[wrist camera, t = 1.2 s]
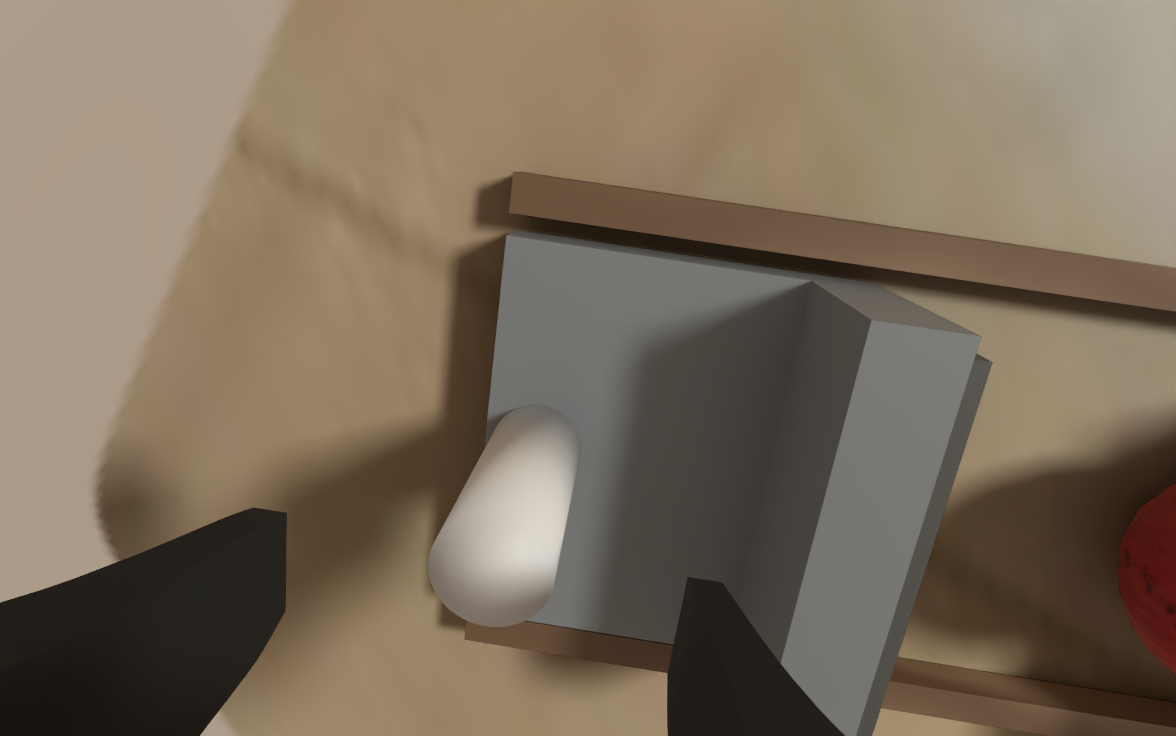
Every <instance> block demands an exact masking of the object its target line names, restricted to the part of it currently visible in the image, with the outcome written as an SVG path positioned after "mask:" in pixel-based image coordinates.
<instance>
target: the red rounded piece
mask: <svg viewBox="0 0 1176 736" xmlns="http://www.w3.org/2000/svg"><path fill="white" fill-rule="evenodd" d="M1118 579H1119V591H1120V595H1121V597H1122V600H1123V603H1124V606H1125V608H1126V611H1127V614H1128V616H1129V619H1130V622H1131V625H1132V627H1133V628H1134V630H1135V631H1136V633H1137V634H1138V636H1139V637H1140V639H1141V640H1142V642H1143V643H1144V645H1145V647H1146V648H1147V650H1148V651H1150V652H1151V653H1152V654H1153V655H1154V656H1155V657H1156V658H1157V659H1159V660H1160V661H1161V662H1162V663H1163V664H1164V665H1165V666H1166V667H1167V668H1169V669H1170V670H1171V671H1172V672H1173V673H1174V674H1175V675H1176V483H1174V484H1173V485H1172V486H1170V487H1169V488H1167V489H1166V490H1165V491H1163V492H1162V493H1160V494H1159V495H1157V496H1156V497H1155V498H1153V499H1152V500H1150V501H1149V502H1147V503H1146V504H1145V505H1143V506H1142V507H1140V508H1139V510H1138V512H1137V513H1136V515H1135V517H1134V518H1133V520H1132V522H1131V523H1130V525H1129V527H1128V528H1127V530H1126V532H1125V533H1124V535H1123V537H1122V538H1121V540H1120V550H1119V565H1118Z"/></svg>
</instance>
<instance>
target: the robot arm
mask: <svg viewBox="0 0 1176 736" xmlns="http://www.w3.org/2000/svg"><path fill="white" fill-rule="evenodd" d="M286 524H287V513H284V512H278V511H271V510H265V509H259V508H251V509H248V510H245V511H242V512H239V513H236V514H233V515H231V516H228V517H226V518H223V519H221V520H218V521H216V522H214V523H211V524H209V525H206V526H204V527H202V528H199V529H197V530H195V531H192V532H190V533H188V534H185V535H183V536H180V537H178V538H176V539H173V540H171V541H169V542H166V543H164V544H161V545H159V546H157V547H154V548H152V549H150V550H147V551H145V552H142V553H140V554H137V555H135V556H132V557H130V558H127V559H124V560H122V561H119V562H117V563H114V564H111V565H109V566H106V567H103V568H101V569H99V570H96V571H93V572H90V573H88V574H85V575H83V576H80V577H77V578H75V579H72V580H69V581H66V582H63V583H61V584H58V585H55V586H52V587H49V588H46V589H43V590H40V591H37V592H33V593H30V594H27V595H24V596H20V597H17V598H14V599H11V600H7V601H4V602H1V603H0V736H200V735H201V733H202V732H203V731H204V729H205V728H206V727H207V725H208V724H209V723H210V722H211V720H212V719H213V718H214V716H215V715H216V714H217V712H218V711H219V710H220V709H221V707H222V706H223V705H224V703H225V702H226V701H227V700H228V698H229V697H230V696H231V694H232V693H233V692H234V690H235V689H236V688H237V686H238V685H239V684H240V682H241V681H242V680H243V678H244V677H245V676H246V674H247V673H248V672H249V670H250V669H251V668H252V666H253V665H254V664H255V662H256V661H257V659H258V657H259V656H260V654H261V652H262V651H263V649H264V647H265V646H266V644H267V642H268V641H269V639H270V637H271V636H272V634H273V632H274V630H275V628H276V627H277V625H278V623H279V621H280V619H281V618H282V616H283V614H284V612H285V604H286ZM667 725H668V736H845V735H844V734H843V733H842V732H841V731H840V730H839V729H838V728H837V727H836V726H835V725H834V724H833V723H832V722H831V721H830V720H829V719H828V718H827V717H826V716H825V715H824V714H823V712H822V711H821V710H820V709H819V708H818V707H817V706H816V705H815V704H814V703H813V701H812V700H811V699H810V698H809V697H808V696H807V694H806V693H805V692H804V691H803V690H802V689H801V688H800V686H799V685H798V684H797V683H796V682H795V681H794V679H793V678H792V677H791V676H790V675H789V673H788V672H787V671H786V670H785V668H784V667H783V666H782V665H781V663H780V662H779V661H778V659H777V658H776V657H775V656H774V654H773V653H772V652H771V650H770V649H769V648H768V646H767V645H766V644H765V642H764V641H763V640H762V638H761V637H760V635H759V634H758V633H757V631H756V630H755V628H754V627H753V626H752V624H751V623H750V621H749V620H748V619H747V617H746V616H745V614H744V613H743V611H742V610H741V608H740V607H739V606H738V604H737V603H736V601H735V600H734V598H733V597H732V595H731V594H730V593H729V591H728V590H727V588H726V587H725V586H724V584H723V583H722V582H717V581H711V580H704V579H698V578H692V577H688V578H687V583H686V587H685V592H684V597H683V602H682V606H681V611H680V616H679V621H678V626H677V630H676V635H675V640H674V645H673V649H672V654H671V659H670V664H669V668H668V686H667Z"/></svg>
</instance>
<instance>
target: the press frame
mask: <svg viewBox="0 0 1176 736" xmlns="http://www.w3.org/2000/svg"><path fill="white" fill-rule="evenodd" d="M509 213H514V214H521V215H527V216H534V217H541V218H548V219H554V220H561V221H568V222H575V223H581V224H588V225H595V226H602V227H608V228H615V229H622V230H629V231H635V232H642V233H649V234H656V235H662V236H669V237H676V238H683V239H689V240H696V241H703V242H710V243H716V244H723V245H730V246H737V247H743V248H750V249H757V250H763V251H770V252H777V253H784V254H790V255H797V256H804V257H811V258H817V259H824V260H831V261H838V262H844V263H851V264H858V265H865V266H871V267H878V268H885V269H892V270H898V271H905V272H912V273H919V274H925V275H932V276H939V277H946V278H952V279H959V280H966V281H973V282H979V283H986V284H993V285H1000V286H1006V287H1013V288H1020V289H1027V290H1033V291H1040V292H1047V293H1054V294H1060V295H1067V296H1074V297H1081V298H1087V299H1094V300H1101V301H1108V302H1114V303H1121V304H1128V305H1135V306H1141V307H1148V308H1155V309H1162V310H1168V311H1175V312H1176V268H1173V267H1166V266H1159V265H1152V264H1145V263H1139V262H1132V261H1125V260H1118V259H1111V258H1105V257H1098V256H1091V255H1084V254H1077V253H1070V252H1064V251H1057V250H1050V249H1043V248H1036V247H1030V246H1023V245H1016V244H1009V243H1002V242H995V241H989V240H982V239H975V238H968V237H961V236H955V235H948V234H941V233H934V232H927V231H920V230H914V229H907V228H900V227H893V226H886V225H879V224H873V223H866V222H859V221H852V220H845V219H839V218H832V217H825V216H818V215H811V214H804V213H798V212H791V211H784V210H777V209H770V208H764V207H757V206H750V205H743V204H736V203H729V202H723V201H716V200H709V199H702V198H695V197H689V196H682V195H675V194H668V193H661V192H654V191H648V190H641V189H634V188H627V187H620V186H614V185H607V184H600V183H593V182H586V181H579V180H573V179H566V178H559V177H552V176H545V175H538V174H532V173H525V172H513V177H512V186H511V196H510V205H509ZM464 640H470V641H477V642H483V643H489V644H495V645H501V646H507V647H513V648H519V649H525V650H531V651H537V652H543V653H549V654H556V655H562V656H568V657H574V658H580V659H586V660H592V661H598V662H604V663H610V664H616V665H622V666H628V667H634V668H641V669H647V670H653V671H659V672H665V673H668V668H669V664H670V659H671V654H672V649H673V644H667V643H661V642H655V641H648V640H642V639H636V638H630V637H624V636H618V635H612V634H606V633H600V632H593V631H587V630H581V629H575V628H569V627H563V626H557V625H551V624H545V623H538V622H532V621H524V622H521V623H518V624H515V625H511V626H505V627H489V626H482V625H478V624H475V623H472V622H469V621H467V620H466V629H465V639H464ZM881 708H884V709H890V710H896V711H902V712H908V713H914V714H920V715H926V716H932V717H938V718H944V719H950V720H956V721H963V722H969V723H975V724H981V725H987V726H993V727H999V728H1005V729H1011V730H1017V731H1023V732H1029V733H1035V734H1042V735H1048V736H1176V703H1175V702H1168V701H1162V700H1156V699H1150V698H1144V697H1138V696H1132V695H1125V694H1119V693H1113V692H1107V691H1101V690H1095V689H1088V688H1082V687H1076V686H1070V685H1064V684H1058V683H1052V682H1045V681H1039V680H1033V679H1027V678H1021V677H1015V676H1009V675H1002V674H996V673H990V672H984V671H978V670H972V669H966V668H959V667H953V666H947V665H941V664H935V663H929V662H922V661H916V660H910V659H904V658H898V657H897V660H896V663H895V666H894V669H893V672H892V675H891V678H890V681H889V684H888V687H887V691H886V694H885V697H884V700H883V703H882V706H881Z"/></svg>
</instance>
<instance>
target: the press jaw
mask: <svg viewBox="0 0 1176 736" xmlns="http://www.w3.org/2000/svg"><path fill="white" fill-rule="evenodd" d="M980 340H981V336H979V335H977V334H975V333H973V332H971V331H969V330H967V329H965V328H963V327H961V326H959V325H957V324H955V323H953V322H951V321H949V320H947V319H945V318H943V317H941V316H939V315H937V314H935V313H933V312H931V311H929V310H927V309H925V308H923V307H921V306H919V305H917V304H915V303H913V302H910V301H908V300H906V299H904V298H902V297H900V296H898V295H896V294H894V293H892V292H890V291H888V290H886V289H884V288H882V287H880V286H878V285H876V284H874V283H869V282H863V281H856V280H849V279H843V278H836V277H829V276H822V275H816V274H809V273H802V272H795V271H789V270H782V269H775V268H769V267H762V266H755V265H748V264H742V263H735V262H728V261H722V260H715V259H708V258H701V257H695V256H688V255H681V254H675V253H668V252H661V251H654V250H648V249H641V248H634V247H627V246H621V245H614V244H607V243H601V242H594V241H587V240H580V239H574V238H567V237H560V236H554V235H547V234H540V233H533V232H527V231H520V230H515V231H513V232H512V233H510V234H508V235H506V243H505V252H504V262H503V272H502V281H501V291H500V301H499V310H498V320H497V330H496V339H495V349H494V358H493V368H492V378H491V387H490V397H489V407H488V416H487V426H486V436H485V445H484V451H483V453H482V455H481V456H480V458H479V460H478V462H477V464H476V466H475V468H474V469H473V471H472V473H471V475H470V477H469V479H468V480H467V482H466V484H465V486H464V488H463V490H462V492H461V493H460V495H459V497H458V499H457V501H456V503H455V505H454V506H453V508H452V510H451V512H450V514H449V516H448V518H447V519H446V521H445V523H444V525H443V527H442V529H441V531H440V532H439V534H438V536H437V538H436V540H435V542H434V544H433V546H432V548H431V551H430V554H429V560H428V572H429V578H430V582H431V585H432V587H433V589H434V591H435V593H436V595H437V596H438V598H439V599H440V600H441V601H442V603H443V604H444V605H445V606H446V607H447V608H448V609H449V610H451V611H452V612H453V613H454V614H456V615H458V616H459V617H461V618H463V619H465V620H467V621H469V622H472V623H475V624H478V625H482V626H489V627H505V626H511V625H515V624H518V623H521V622H524V621H532V622H538V623H545V624H551V625H557V626H563V627H569V628H575V629H581V630H587V631H593V632H600V633H606V634H612V635H618V636H624V637H630V638H636V639H642V640H648V641H655V642H661V643H667V644H673V645H674V640H675V635H676V630H677V626H678V621H679V616H680V611H681V606H682V602H683V597H684V592H685V587H686V583H687V578H688V577H692V578H698V579H704V580H711V581H717V582H722V583H723V584H724V586H725V587H726V588H727V590H728V591H729V593H730V594H731V595H732V597H733V598H734V600H735V601H736V603H737V604H738V606H739V607H740V608H741V610H742V611H743V613H744V614H745V616H746V617H747V619H748V620H749V621H750V623H751V624H752V626H753V627H754V628H755V630H756V631H757V633H758V634H759V635H760V637H761V638H762V640H763V641H764V642H765V644H766V645H767V646H768V648H769V649H770V650H771V652H772V653H773V654H774V656H775V657H776V658H777V659H778V661H779V662H780V663H781V665H782V666H783V667H784V668H785V670H786V671H787V672H788V673H789V675H790V676H791V677H792V678H793V679H794V681H795V682H796V683H797V684H798V685H799V686H800V688H801V689H802V690H803V691H804V692H805V693H806V694H807V696H808V697H809V698H810V699H811V700H812V701H813V703H814V704H815V705H816V706H817V707H818V708H819V709H820V710H821V711H822V712H823V714H824V715H825V716H826V717H827V718H828V719H829V720H830V721H831V722H832V723H833V724H834V725H835V726H836V727H837V728H838V729H839V730H840V731H841V732H842V733H843V734H844V735H845V736H872V734H873V731H874V728H875V725H876V721H877V718H878V715H879V712H880V709H881V706H882V703H883V700H884V697H885V694H886V691H887V687H888V684H889V681H890V678H891V675H892V672H893V669H894V666H895V663H896V660H897V656H898V653H899V650H900V647H901V644H902V641H903V638H904V635H905V632H906V629H907V625H908V622H909V619H910V616H911V613H912V610H913V607H914V604H915V601H916V598H917V595H918V591H919V588H920V585H921V582H922V579H923V576H924V573H925V570H926V567H927V564H928V560H929V557H930V554H931V551H932V548H933V545H934V542H935V539H936V536H937V533H938V529H939V526H940V523H941V520H942V517H943V514H944V511H945V508H946V505H947V502H948V498H949V495H950V492H951V489H952V486H953V483H954V480H955V477H956V474H957V471H958V468H959V464H960V461H961V458H962V455H963V452H964V449H965V446H966V443H967V440H968V437H969V433H970V430H971V427H972V424H973V421H974V418H975V415H976V412H977V409H978V406H979V402H980V399H981V396H982V393H983V390H984V387H985V384H986V381H987V378H988V375H989V372H990V368H991V365H992V362H991V361H989V360H987V359H986V358H984V357H982V356H980V355H978V354H976V352H977V349H978V346H979V343H980Z"/></svg>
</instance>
